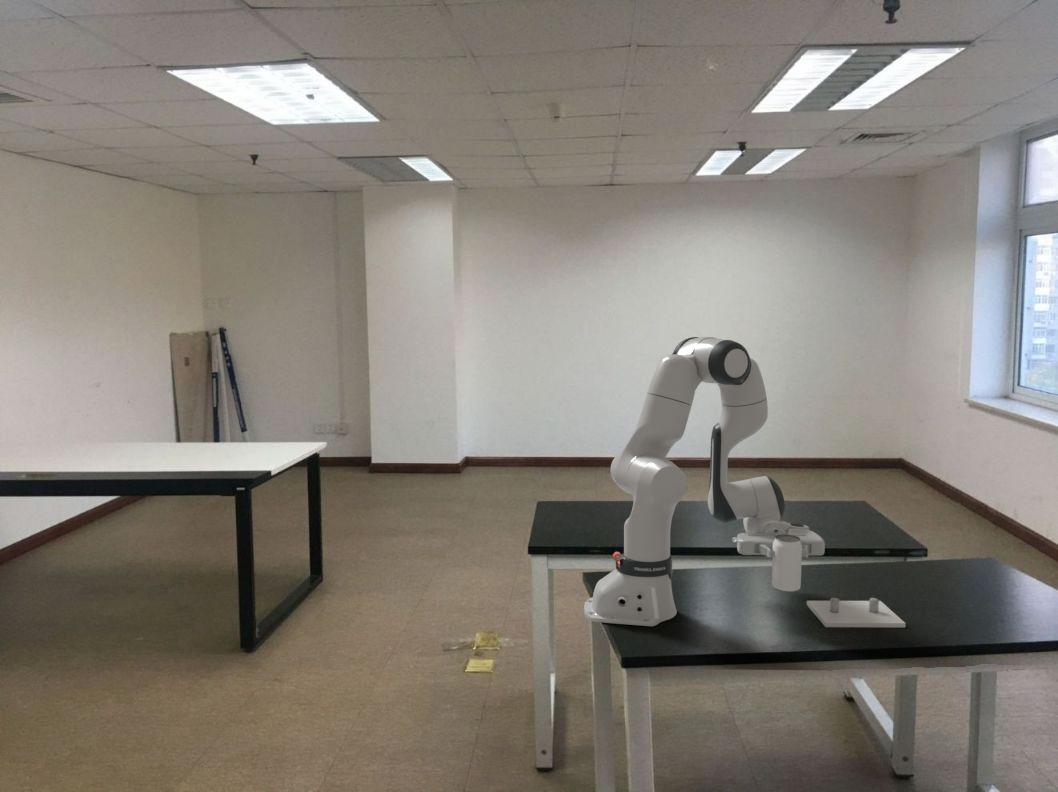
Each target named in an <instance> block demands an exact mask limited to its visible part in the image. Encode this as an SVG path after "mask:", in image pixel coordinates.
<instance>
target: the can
mask: <svg viewBox="0 0 1058 792" xmlns="http://www.w3.org/2000/svg"><path fill="white" fill-rule="evenodd" d="M773 550H774V551H775V554H774V555H775V557H774V558H771V560H772V561H771V586H772V587H773V589H775V590H777V591H780V592H784V593H795V592H798V591H799V590H800V589H801V583H802V563H803V562H802V561H803V560H802V559H803V558H802V544H801V542H800V538H799V537H797V536H794V535H789V534H780V535H776V536H775V540H774V542H773Z"/></svg>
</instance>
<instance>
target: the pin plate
mask: <svg viewBox="0 0 1058 792" xmlns="http://www.w3.org/2000/svg"><path fill="white" fill-rule="evenodd" d="M868 599H869V600H840V599H839V597H838V598H837V597H830V599H829V600H806V606H807V607H808V608H809V609H810V611H811V612H812V613H813V614H814V616H816V617H817V619H818V620H819V621H820V623H822V625H823V626H824V627H825V628H906V622H905V621H904V620H902V619H901V618H900V617H899V616H898V615H897V614H896V613H895V612H894V611H892V610H891V609H890V608H889V607H888V606H887V605H886V604H885V603H884V602H883V601H881V600H879V599H878V598H876V597H869V598H868Z"/></svg>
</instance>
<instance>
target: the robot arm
mask: <svg viewBox="0 0 1058 792" xmlns="http://www.w3.org/2000/svg"><path fill="white" fill-rule="evenodd" d="M702 382H703V383H706V384H717V386H718V387H719V391H720V401H721V415H720V418H719V420H718V422H717V423H716V424H715V425H713V428H712V430H711V438H710V457H709V459H710V460H709V461H710V462H709V463H710V464H709V486H708V495H707V506H708V510H709V513H710V515H711V517H713V518H714V519H715V520H717V521H719V522H721V523H723V524H727V523H730V522H731V523H732V522H734V521H737V520H741V519H743V520H742V522H743V523H742V524H743V528H744V530H745V532H741V533H740V532H739V533H737V535H736V536H734V537H732V539H731V541H732V543H734V544H736V548H737V549H736V550H737V552H738V554H741V555H744V556H766V557H767V558H769V559H772V558H774V557H775V555H774V554H775V551H774V550H773V542H774V540H775V536H776V535H780V534H789V535H794V536H797V537H799V538H800V542H801V544H802V559H808V558H809V556H823V555H824V554H825V549H826V547H825V546H826V543H825V540H824V538H822V537H821V536H820V535H819V534H818V533H816V532H814V531H813V530H810V527H809V526H808V525H806V524H799V523H792V522H788V521H785V520H781V519H782V517H783V516H784V513H785V510H786V509H785V508H786V507H785V505H786V504H785V499H784V494H783V492H782V489H781V488H780V487H781V486H780V485H779V484H778V482H776V481H775V480H774V479H773V478H771V477H770V476H767V475H763V476H756V477H751V478H748V479H742V480H737V481H731V482H730V481H729V482H728V468H729V467H728V466H729V465H728V464H729V461H728V460H729V454H730V453H731V451H732V450H733V449H734V448H735V447H736V446H737V445H738V444H740V443H741V442H743V441H745V440H747V439H748V438H750V437H752V436H754V435H755V434H756V433H758V431H760V430H761V428H763V427H764V425H765V423H766V422H767V419H768V416H769V409H768V405H769V404H768V400H767V392H766V388H765V387H766V386H765V384H764V378H763V376H762V372H761V370H760V367H759V364H758V363H757V362H756V360H754V359H753V358H751V357H750V354H749V352H748V350H747V349H746V348H745V346H744V345H743V344H741V343H739V342H738V341H734V340H731V339H722V338H717V337H710V336H705V337H703V336H701V337H697V336H691V337H688V338H684V339H683V340H682V341H680V342H679V343H678V344H677V345H676V346H675V348H674V350H673V352H672V353H671V354H668V355H665V356H663V358H661V359H660V361H659V363H658V365H657V367H656V369H655V371H654V373H653V376H652V378H651V380H650V383H649V386H648V390H647V392H646V397H645V399H644V403H643V406H642V409H641V413H640V416H639V419H638V421H637V424H636V426H635V428H634V431H633V433H632V435H631V436H630V438H629V440H628V441H627V443H626V444H625V447H624V448H623V450H621V452H619V453H618V454H617V455H615V456H614V458H613V459H612V461H611V464H610V471H609V472H610V476H611V479H612V480H613V482H614V483H615V484H616V485H617V486H618V487H619V489H621V491H623V492H625V493H627V494H629V495H632V497H633V504H632V509H631V512H630V514H629V517H628V518H627V519H626V520H625V521H624V524H623V553H621V552H620V551H615V552H614V553H613V554H612V556H613V561H615V569H613V570H612V571H611V572H609V573H608V574H607V575H605V576H603V578H600V579H599V580H598V581H597V583H596V584H595V586H594V587H595V588H594V590H593V594H592V597H589V598H588V599H587V600H586V601H585V602H584V606H583V613H584V616H585V617H586V619H587V620H589V621H591V622H593V623H594V622H596V623H603V624H604V623H606V624H617V625H632V626H643V627H655V626H658V625H659V624H660V623H662V622H665V621H667V620H668V621H669V620H671V619H674V617H675V616H676V615H677V609H676V603H675V601H674V595H673V588H672V576H673V557H672V555H671V526H672V520H673V515H674V512H675V510H676V506H677V504H678V503H679V502H680V501H681V500H683V498H684V497H685V495H686V493H687V490H688V480H687V476H686V473H684V471H683V470H682V468H680V467H679V466H677V465H676V464H675V463H674V462H673V461H671V460H669V459H667V456H668V454H669V452H670V451H671V448H673V446H674V445H675V444H676V443H677V442H678V441H680V440H681V439H682V438H683V436H684V434H685V431H686V428H687V427H686V426H687V424H688V421H689V417H690V414H691V410H692V406H693V403H694V399H695V398H694V397H695V393H696V390H697V389H698V386H699V385H700V384H701V383H702Z"/></svg>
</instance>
